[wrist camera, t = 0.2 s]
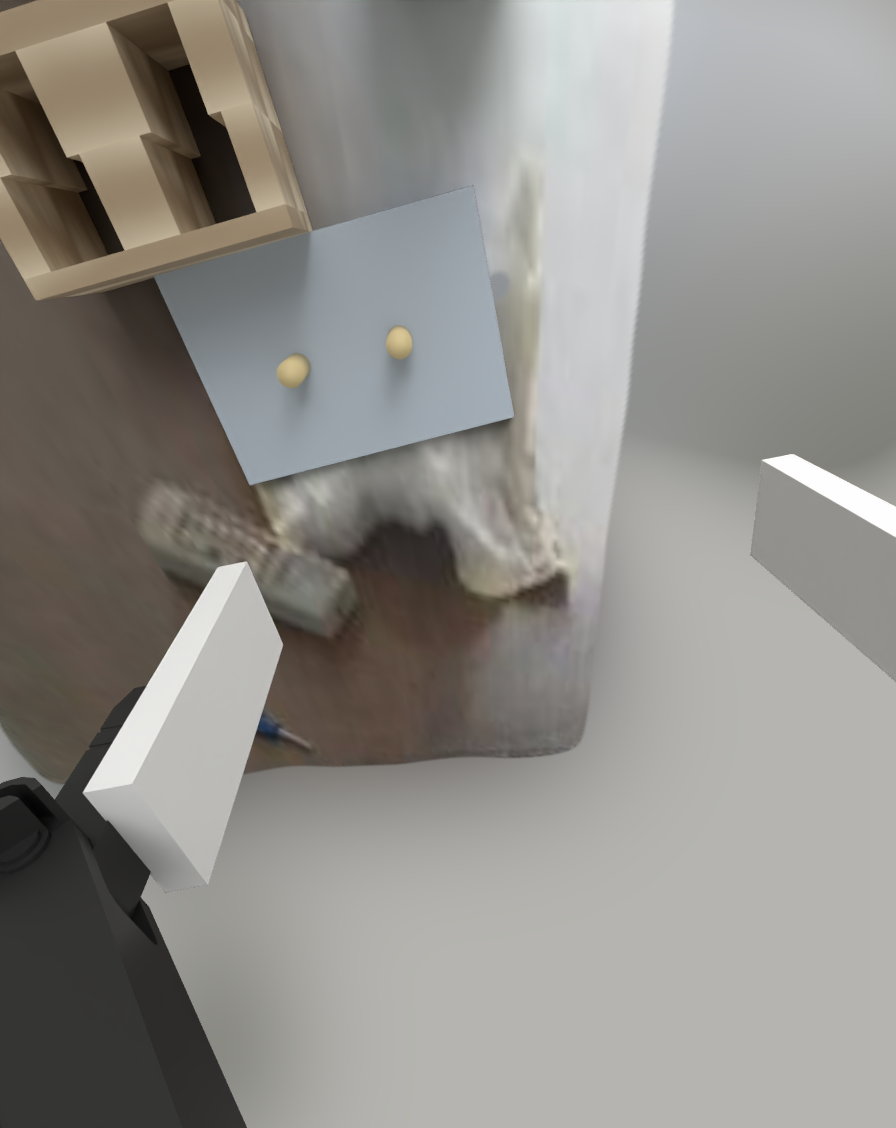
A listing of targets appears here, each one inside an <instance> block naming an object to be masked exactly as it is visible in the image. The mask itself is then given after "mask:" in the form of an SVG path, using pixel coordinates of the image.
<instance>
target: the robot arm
mask: <svg viewBox="0 0 896 1128" xmlns="http://www.w3.org/2000/svg"><path fill="white" fill-rule="evenodd" d="M750 555H751V556H752V557H753V558H754V559H755V560H756V561H757V562H759V563H760V564H761V565H762V566H763V567H764V568H765V569H767V570H768V571H769V572H770V573H771V574H772V575H774V576H775V577H776V578H777V579H778V580H779V581H780V582H781V583H783V584H784V585H785V586H786V587H787V588H788V589H790V590H791V591H792V592H793V593H794V594H795V595H796V596H798V597H799V598H800V599H801V600H802V601H803V602H804V603H806V604H807V605H808V606H809V607H810V608H811V609H813V610H814V611H815V612H816V613H817V614H818V615H820V616H821V617H822V618H823V619H824V620H825V621H826V622H827V623H829V624H830V625H831V626H832V627H833V628H834V629H835V630H837V631H838V632H839V633H840V634H841V635H842V636H843V637H845V638H846V639H847V640H848V641H849V642H850V643H852V644H853V645H854V646H855V647H856V648H857V649H858V650H860V651H861V652H862V653H863V654H864V655H865V656H866V657H868V658H869V659H870V660H871V661H872V662H873V663H875V664H876V665H877V666H878V667H879V668H880V669H881V670H882V671H884V672H885V673H886V674H887V675H888V676H889V677H891V678H892V679H893V680H894V681H895V682H896V507H895V506H893V505H891V504H889V503H887V502H885V501H883V500H881V499H879V498H878V497H875V496H874V495H872V494H870V493H868V492H866V491H864V490H862V489H860V488H858V487H856V486H854V485H852V484H850V483H848V482H846V481H844V480H842V479H841V478H839V477H837V476H835V475H833V474H831V473H829V472H827V471H825V470H823V469H821V468H819V467H817V466H815V465H813V464H811V463H809V462H807V461H805V460H804V459H802V458H800V457H798V456H796V455H794V454H790V455H785V456H780V457H775V458H770V459H765V460H762V463H761V471H760V480H759V488H758V497H757V504H756V512H755V521H754V529H753V538H752V546H751V554H750ZM282 647H283V643H282V641H281V639H280V636H279V634H278V632H277V629H276V627H275V625H274V622H273V620H272V618H271V616H270V613H269V611H268V609H267V606H266V604H265V602H264V600H263V597H262V595H261V593H260V590H259V588H258V586H257V583H256V581H255V579H254V577H253V574H252V572H251V570H250V567H249V565H248V563H247V562H242V563H237V564H232V565H227V566H221V567H218V568H217V569H216V571H215V573H214V574H213V576H212V578H211V579H210V581H209V583H208V584H207V586H206V588H205V590H204V591H203V593H202V595H201V596H200V598H199V600H198V601H197V603H196V605H195V606H194V608H193V610H192V611H191V613H190V615H189V616H188V618H187V620H186V621H185V623H184V625H183V626H182V628H181V630H180V631H179V633H178V635H177V636H176V638H175V640H174V641H173V643H172V645H171V646H170V648H169V650H168V651H167V653H166V655H165V656H164V658H163V660H162V661H161V663H160V665H159V666H158V668H157V670H156V671H155V673H154V675H153V676H152V678H151V680H150V681H149V683H148V685H147V686H143V687H138V688H134V689H133V690H132V691H131V692H130V693H129V694H128V695H127V696H126V697H125V698H124V699H123V700H122V701H121V702H120V703H119V704H117V705H116V706H115V707H114V708H113V710H112V712H111V713H110V715H109V716H108V718H107V719H106V721H105V722H104V724H103V726H102V727H101V732H100V733H97V735H96V736H95V738H94V740H93V741H92V743H91V744H90V746H89V747H90V750H87V751H86V752H85V754H84V755H83V757H82V758H81V760H80V761H79V763H78V764H77V766H76V768H75V769H74V771H73V772H72V774H71V775H70V777H69V778H68V780H67V781H66V783H65V785H64V786H63V788H62V789H61V791H60V792H59V794H58V796H57V797H56V799H55V800H54V799H53V797H52V796H51V795H50V794H49V793H48V792H47V791H46V790H45V788H44V787H43V786H42V785H41V784H40V783H39V782H38V781H37V780H36V779H35V778H27V777H21V778H17V779H13V780H10V781H6V782H3V783H1V784H0V1128H247V1127H246V1124H245V1122H244V1120H243V1118H242V1115H241V1113H240V1111H239V1109H238V1106H237V1104H236V1102H235V1100H234V1097H233V1095H232V1093H231V1091H230V1089H229V1086H228V1084H227V1082H226V1079H225V1077H224V1075H223V1073H222V1070H221V1068H220V1066H219V1064H218V1061H217V1059H216V1057H215V1055H214V1053H213V1050H212V1048H211V1046H210V1043H209V1041H208V1039H207V1037H206V1034H205V1032H204V1030H203V1027H202V1025H201V1023H200V1021H199V1018H198V1016H197V1014H196V1012H195V1010H194V1007H193V1005H192V1003H191V1000H190V998H189V996H188V994H187V991H186V989H185V987H184V985H183V982H182V980H181V978H180V976H179V973H178V971H177V969H176V967H175V965H174V962H173V960H172V958H171V955H170V953H169V951H168V949H167V947H166V944H165V942H164V940H163V937H162V935H161V933H160V931H159V928H158V926H157V924H156V922H155V919H154V917H153V915H152V913H151V910H150V908H149V906H148V905H147V904H146V903H145V902H144V901H143V900H142V898H141V894H142V892H143V890H144V887H145V885H146V882H147V880H148V878H149V875H151V876H152V877H153V878H154V879H155V881H156V882H157V883H158V884H159V885H160V887H161V888H162V889H163V890H164V892H165V893H167V892H172V891H178V890H184V889H189V888H195V887H200V886H206V885H208V884H209V880H210V877H211V874H212V871H213V867H214V864H215V861H216V858H217V855H218V851H219V848H220V845H221V842H222V839H223V836H224V832H225V829H226V826H227V823H228V820H229V816H230V813H231V810H232V807H233V804H234V800H235V797H236V794H237V791H238V788H239V784H240V781H241V778H242V775H243V772H244V768H245V765H246V762H247V759H248V756H249V752H250V749H251V746H252V743H253V740H254V736H255V733H256V730H257V727H258V724H259V721H260V717H261V714H262V711H263V708H264V705H265V701H266V698H267V695H268V692H269V689H270V685H271V682H272V679H273V676H274V673H275V669H276V666H277V663H278V660H279V657H280V653H281V650H282Z"/></svg>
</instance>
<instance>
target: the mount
mask: <svg viewBox="0 0 896 1128" xmlns="http://www.w3.org/2000/svg"><path fill="white" fill-rule="evenodd" d="M154 278H155V281H156V283H157V285H158V287H159V289H160V291H161V294H162V296H163V298H164V300H165V302H166V304H167V307H168V309H169V311H170V313H171V315H172V317H173V320H174V322H175V324H176V326H177V328H178V331H179V333H180V335H181V337H182V339H183V341H184V344H185V346H186V348H187V350H188V352H189V354H190V357H191V359H192V361H193V363H194V365H195V367H196V370H197V372H198V374H199V376H200V378H201V380H202V383H203V385H204V387H205V389H206V391H207V393H208V396H209V398H210V400H211V402H212V404H213V407H214V409H215V411H216V413H217V415H218V417H219V420H220V422H221V424H222V426H223V428H224V430H225V433H226V435H227V437H228V439H229V441H230V443H231V446H232V448H233V450H234V452H235V454H236V456H237V459H238V461H239V463H240V465H241V467H242V469H243V472H244V474H245V476H246V478H247V480H248V482H249V485H253V484H256V483H260V482H264V481H268V480H272V479H276V478H280V477H284V476H288V475H291V474H295V473H299V472H303V471H307V470H311V469H315V468H319V467H322V466H326V465H330V464H334V463H338V462H342V461H346V460H350V459H353V458H357V457H361V456H365V455H369V454H373V453H377V452H381V451H384V450H388V449H392V448H396V447H400V446H404V445H408V444H412V443H415V442H419V441H423V440H427V439H431V438H435V437H439V436H443V435H446V434H450V433H454V432H458V431H462V430H466V429H470V428H474V427H477V426H481V425H485V424H489V423H493V422H497V421H501V420H505V419H508V418H512V417H514V413H513V407H512V402H511V396H510V390H509V385H508V379H507V373H506V368H505V362H504V356H503V351H502V345H501V339H500V334H499V328H498V322H497V317H496V311H495V305H494V300H493V294H492V289H491V283H490V277H489V271H488V266H487V260H486V254H485V249H484V243H483V237H482V232H481V226H480V220H479V215H478V209H477V203H476V198H475V192H474V186H473V185H472V186H469V187H465V188H462V189H458V190H455V191H451V192H448V193H444V194H441V195H437V196H434V197H430V198H427V199H423V200H420V201H416V202H413V203H409V204H406V205H402V206H399V207H395V208H392V209H388V210H385V211H381V212H378V213H374V214H371V215H367V216H364V217H360V218H357V219H353V220H349V221H346V222H342V223H339V224H335V225H332V226H328V227H325V228H321V229H318V230H314V231H311V232H307V233H304V234H300V235H297V236H293V237H290V238H286V239H283V240H279V241H276V242H272V243H269V244H265V245H262V246H258V247H255V248H251V249H248V250H244V251H241V252H237V253H234V254H230V255H227V256H223V257H220V258H216V259H213V260H209V261H206V262H202V263H199V264H195V265H192V266H188V267H185V268H181V269H178V270H174V271H171V272H167V273H164V274H160V275H157V276H154Z"/></svg>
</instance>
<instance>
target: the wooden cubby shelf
mask: <svg viewBox="0 0 896 1128" xmlns="http://www.w3.org/2000/svg"><path fill="white" fill-rule="evenodd" d="M189 64H190V66H191V69H192V72H193V74H194V77H195V80H196V83H197V85H198V88H199V91H200V94H201V96H202V99H203V102H204V104H205V107H206V110H207V113H208V115H209V116H211V117H212V118H213V119H215V120H216V121H218V122H219V123H220V124H222V125H223V126H225V127H226V128H227V131H228V133H229V136H230V139H231V142H232V145H233V147H234V150H235V153H236V156H237V159H238V162H239V164H240V167H241V170H242V173H243V176H244V179H245V181H246V184H247V187H248V190H249V193H250V195H251V198H252V201H253V204H254V207H255V210H256V213H253V214H249V215H246V216H242V217H239V218H235V219H232V220H228V221H225V222H221V223H218V224H216V221H215V219H214V216H213V214H212V211H211V209H210V206H209V203H208V201H207V198H206V196H205V193H204V191H203V188H202V186H201V183H200V180H199V178H198V175H197V173H196V170H195V168H194V165H193V162H192V160H191V159H193V158H197V157H200V156H201V155H200V152H199V150H198V147H197V144H196V142H195V139H194V137H193V134H192V131H191V129H190V126H189V123H188V121H187V118H186V116H185V113H184V110H183V108H182V105H181V102H180V100H179V97H178V95H177V92H176V89H175V87H174V84H173V82H172V79H171V76H170V74H169V70H173V69H176V68H179V67H182V66H185V65H189ZM73 159H74V160H77V161H81V162H83V164H84V166H85V168H86V170H87V172H88V174H89V176H90V178H91V181H92V183H93V185H94V187H95V189H96V191H97V193H98V195H99V197H100V200H101V202H102V204H103V206H104V208H105V210H106V212H107V214H108V216H109V219H110V221H111V223H112V225H113V227H114V229H115V231H116V233H117V235H118V237H119V240H120V242H121V244H122V246H123V248H124V250H125V251H121V252H118V253H114V254H111V255H109V254H108V252H107V250H106V248H105V246H104V244H103V242H102V240H101V238H100V236H99V234H98V232H97V230H96V228H95V226H94V224H93V222H92V220H91V218H90V216H89V214H88V212H87V209H86V207H85V205H84V203H83V201H82V199H81V197H80V195H79V192H82V191H86V190H88V189H87V187H86V185H85V183H84V181H83V179H82V177H81V175H80V172H79V170H78V168H77V166H76V164H75V162H74V160H73ZM311 231H313V229H312V226H311V223H310V220H309V216H308V213H307V210H306V207H305V204H304V201H303V197H302V194H301V191H300V188H299V185H298V181H297V178H296V175H295V172H294V169H293V165H292V162H291V159H290V156H289V153H288V150H287V146H286V143H285V140H284V137H283V134H282V130H281V127H280V124H279V121H278V118H277V114H276V111H275V108H274V105H273V102H272V99H271V95H270V92H269V89H268V86H267V83H266V79H265V76H264V73H263V70H262V67H261V63H260V60H259V57H258V54H257V51H256V48H255V44H254V41H253V38H252V35H251V32H250V28H249V25H248V22H247V19H246V16H245V13H244V12H243V10H242V9H241V7H240V6H239V4H238V3H237V1H236V0H37V1H34V2H31V3H27V4H24V5H21V6H18V7H15V8H12V9H9V10H6V11H3V12H0V239H1V240H2V242H3V244H4V246H5V247H6V249H7V251H8V253H9V254H10V256H11V258H12V260H13V261H14V263H15V265H16V267H17V268H18V270H19V272H20V274H21V275H22V277H23V279H24V281H25V282H26V284H27V286H28V288H29V289H30V291H31V293H32V295H33V296H34V298H35V300H36V301H39V300H47V299H55V298H63V297H71V296H79V295H87V294H95V293H103V292H106V291H110V290H113V289H117V288H120V287H124V286H127V285H131V284H134V283H138V282H141V281H145V280H148V279H152V278H154V276H157V275H160V274H164V273H167V272H171V271H174V270H178V269H181V268H185V267H188V266H192V265H195V264H199V263H202V262H206V261H209V260H213V259H216V258H220V257H223V256H227V255H230V254H234V253H237V252H241V251H244V250H248V249H251V248H255V247H258V246H262V245H265V244H269V243H272V242H276V241H279V240H283V239H286V238H290V237H293V236H297V235H300V234H304V233H307V232H311Z"/></svg>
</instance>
